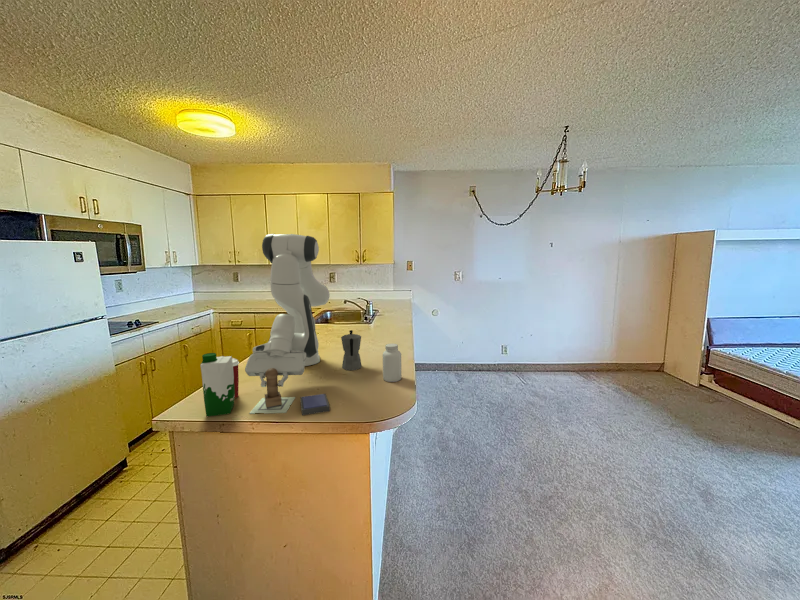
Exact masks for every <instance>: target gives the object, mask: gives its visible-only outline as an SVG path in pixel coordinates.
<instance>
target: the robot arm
mask: <svg viewBox="0 0 800 600" xmlns="http://www.w3.org/2000/svg"><path fill="white" fill-rule="evenodd" d="M261 251H262V254H263V256H264V257H265V258H266V259H267V260H268V261H269V263H270V264H271V269H270V293H271V295H272V297H273V298H274V301H275V302H276V304H277V305H278V306H279V307H281V308H282V309H283V310H284V311H285V312H286V313H279V314H277V315H276V316H275V318H274V320H273V323H272V325H271V330H270V334H269V335H270V336H269V340H268V341H267V342H266V343H263V344H260V345H256V346H254V347H252V354H250V356H249V357H248V359H247V361H246V365H245V369H244V371H245V374H247V376H248V377H259V380H260V387H261V388H267V381H266V380H265V379H266V377H265V373H266V371H267V370H268V369H270V368H275V369H276V370H277V371H278V376H277V377H279V376H282V378H281V379H278V388H280V387H283V388H284V383H285V382H286V381H287V379H288V378H289V376H301V375H303V374H304V373H305V367H307V366H311V365H317V364H318V363H320V361H321V359H320V358H321V356H320V355H319V339H318V336H317V332H316V319H315V317H314V316H313V315H314V314H313V309H312V307H321V306H323V305H326V304H327V303H328V302H329V299H330V291H329V288H328V287H327V286H326V285H324V284H323V283H321V282H319V281H318V280H317V278H316V277H315V276H314V273H313V268H312V262H314V261H315V260H316V259H317V257H318V255H319V251H320V247H319V243H318V240H317V239H316V238H315V237H314V236H310V235H301V234H295V233H286V234H285V233H281V234H280V233H278V234H276V233H269V234H266V235H265V236H264V237H263V239H262V243H261Z"/></svg>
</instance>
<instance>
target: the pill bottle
mask: <svg viewBox="0 0 800 600" xmlns="http://www.w3.org/2000/svg"><path fill="white" fill-rule="evenodd" d="M382 378H383V380H384V382H388V383H396V382H399V381H401V379H402V352H401V351H400V350H399V344H397V343H387V344H386V345H385V350H384V351H383V353H382Z"/></svg>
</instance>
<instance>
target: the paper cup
mask: <svg viewBox="0 0 800 600" xmlns="http://www.w3.org/2000/svg"><path fill="white" fill-rule="evenodd" d="M232 363H233V373H234V387H235V399H237V398H238V397H239V380H240V379H239V378H240V377H239V364H240V361H239V359H237V358H234V357H232ZM236 397H237V398H236Z"/></svg>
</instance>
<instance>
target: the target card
mask: <svg viewBox="0 0 800 600" xmlns="http://www.w3.org/2000/svg"><path fill="white" fill-rule="evenodd" d="M281 399H282V404H281V406H279V407H274V408H269V409H267V408H266V404H265V397H262V398H260V400H259V402H257V404H256V405H255V406H254V407H253V408H252V409H251V410H250V412H249V415H255V413H264V414H287V412H288V411H289V409H290V407H291V406H290V405H292V404H293V402H294V401H295V399H296V396H286V397H282V396H281Z"/></svg>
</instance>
